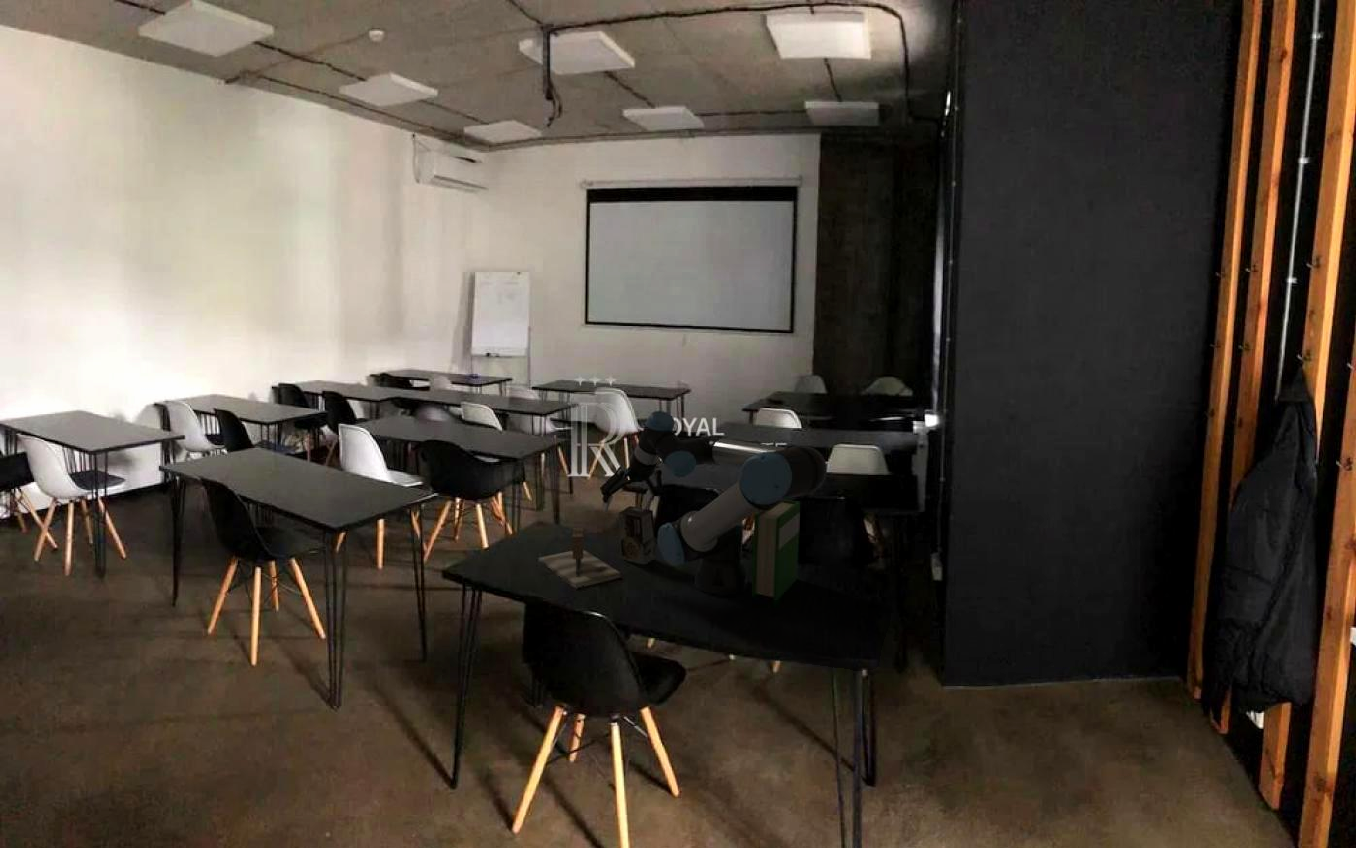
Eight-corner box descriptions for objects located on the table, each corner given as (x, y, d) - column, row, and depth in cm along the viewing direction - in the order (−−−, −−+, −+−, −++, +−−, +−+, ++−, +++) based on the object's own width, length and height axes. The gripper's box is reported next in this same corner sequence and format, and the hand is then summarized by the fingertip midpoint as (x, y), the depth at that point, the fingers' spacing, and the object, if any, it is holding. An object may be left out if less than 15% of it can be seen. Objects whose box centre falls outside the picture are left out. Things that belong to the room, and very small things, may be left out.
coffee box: (656, 557, 243) (653, 510, 238) (644, 565, 238) (641, 517, 233) (632, 551, 248) (630, 505, 243) (620, 559, 242) (617, 512, 238)
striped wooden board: (620, 577, 228) (620, 571, 228) (575, 588, 220) (575, 582, 219) (581, 553, 248) (581, 547, 247) (538, 562, 239) (538, 557, 239)
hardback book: (776, 601, 213) (779, 518, 209) (751, 595, 217) (754, 514, 212) (796, 579, 229) (800, 502, 224) (773, 574, 232) (776, 498, 227)
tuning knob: (573, 559, 237) (573, 528, 235) (583, 559, 237) (583, 527, 235) (572, 575, 225) (571, 542, 223) (582, 575, 225) (582, 542, 223)
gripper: (678, 448, 232) (656, 497, 244) (602, 448, 219) (583, 500, 231) (687, 465, 227) (664, 514, 239) (610, 466, 214) (590, 519, 226)
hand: (624, 508), depth 235 cm, fingers open, 13 cm apart
